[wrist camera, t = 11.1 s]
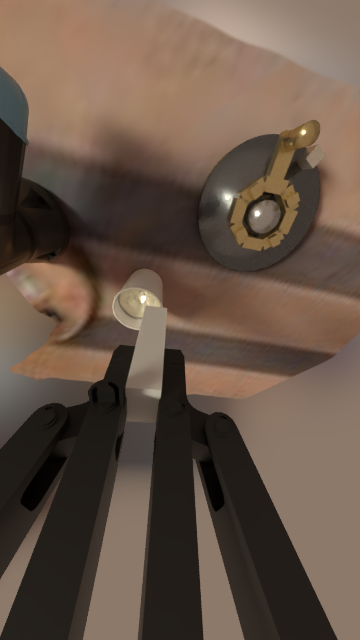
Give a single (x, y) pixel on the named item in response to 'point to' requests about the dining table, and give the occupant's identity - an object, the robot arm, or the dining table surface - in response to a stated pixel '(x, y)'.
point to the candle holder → (138, 297)
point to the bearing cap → (256, 202)
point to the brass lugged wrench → (272, 190)
